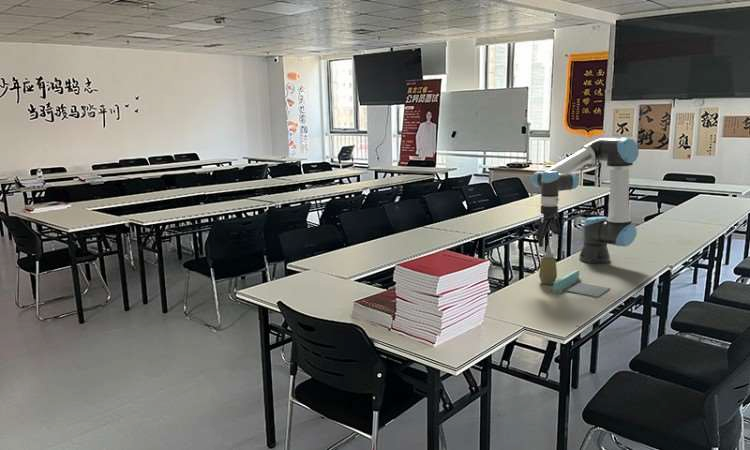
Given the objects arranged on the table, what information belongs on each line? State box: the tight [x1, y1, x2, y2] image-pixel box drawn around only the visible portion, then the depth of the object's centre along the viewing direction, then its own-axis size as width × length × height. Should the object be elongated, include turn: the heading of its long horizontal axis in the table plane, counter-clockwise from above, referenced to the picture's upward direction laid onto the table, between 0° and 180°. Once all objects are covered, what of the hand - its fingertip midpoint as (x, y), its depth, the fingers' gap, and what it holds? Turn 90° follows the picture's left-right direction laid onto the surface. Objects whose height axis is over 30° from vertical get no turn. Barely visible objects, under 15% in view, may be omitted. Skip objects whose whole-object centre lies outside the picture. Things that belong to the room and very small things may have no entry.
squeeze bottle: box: [538, 245, 558, 286], centre depth 258 cm, size 8×8×18 cm
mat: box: [565, 282, 611, 299], centre depth 247 cm, size 14×14×1 cm
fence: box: [550, 269, 582, 295], centre depth 253 cm, size 4×24×5 cm, turn 138°
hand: (548, 250), depth 256 cm, fingers open, 13 cm apart
